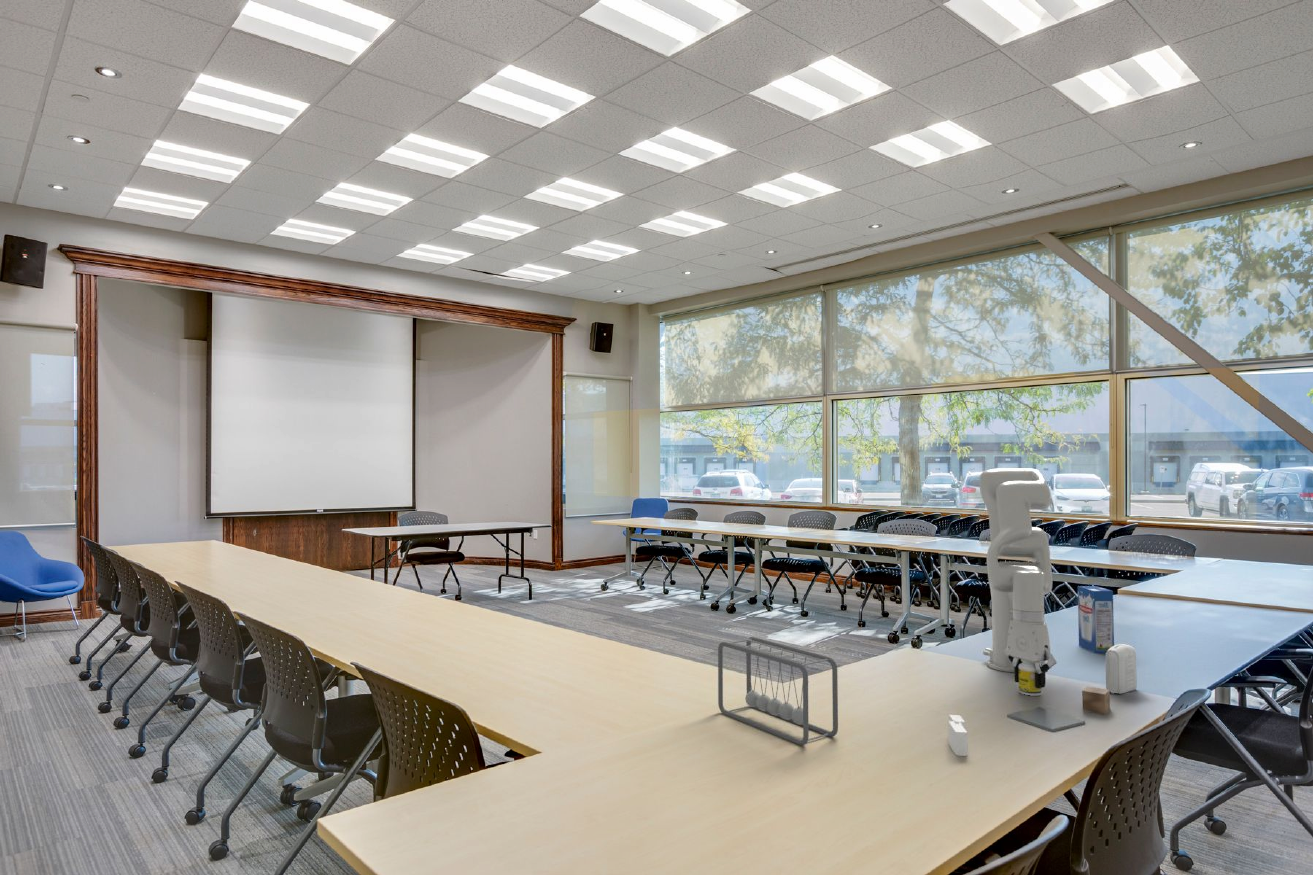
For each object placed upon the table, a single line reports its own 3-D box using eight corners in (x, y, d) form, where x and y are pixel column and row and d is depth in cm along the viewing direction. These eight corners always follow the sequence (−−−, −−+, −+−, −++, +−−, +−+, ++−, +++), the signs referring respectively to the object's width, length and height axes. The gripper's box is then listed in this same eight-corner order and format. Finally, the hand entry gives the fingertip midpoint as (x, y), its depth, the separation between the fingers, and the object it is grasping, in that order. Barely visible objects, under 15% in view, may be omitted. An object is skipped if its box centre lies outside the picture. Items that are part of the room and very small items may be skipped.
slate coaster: (1007, 716, 188) (1007, 714, 188) (1039, 709, 193) (1039, 706, 193) (1052, 731, 177) (1052, 729, 177) (1085, 723, 183) (1085, 720, 183)
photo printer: (1122, 685, 214) (1121, 640, 214) (1139, 689, 210) (1138, 643, 211) (1103, 691, 208) (1102, 645, 209) (1120, 695, 205) (1119, 648, 205)
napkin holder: (970, 764, 160) (969, 735, 160) (919, 749, 168) (918, 722, 168) (1001, 745, 170) (1000, 719, 170) (951, 732, 178) (951, 707, 178)
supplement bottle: (1014, 690, 209) (1014, 654, 210) (1033, 690, 210) (1033, 653, 210) (1026, 696, 204) (1025, 659, 204) (1045, 696, 204) (1044, 658, 205)
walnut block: (1082, 710, 193) (1082, 690, 193) (1087, 705, 196) (1087, 686, 197) (1105, 714, 189) (1104, 694, 190) (1110, 710, 193) (1109, 689, 193)
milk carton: (1114, 652, 251) (1113, 590, 251) (1095, 652, 251) (1093, 590, 252) (1097, 645, 261) (1096, 586, 261) (1078, 645, 261) (1077, 586, 262)
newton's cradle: (839, 738, 173) (838, 658, 174) (806, 748, 167) (805, 665, 168) (749, 704, 198) (748, 634, 199) (717, 712, 192) (717, 640, 193)
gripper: (991, 612, 213) (993, 678, 213) (1048, 623, 198) (1050, 694, 198) (1010, 609, 217) (1011, 675, 216) (1067, 620, 202) (1068, 690, 201)
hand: (1029, 683), depth 207 cm, fingers closed on supplement bottle, 5 cm apart
